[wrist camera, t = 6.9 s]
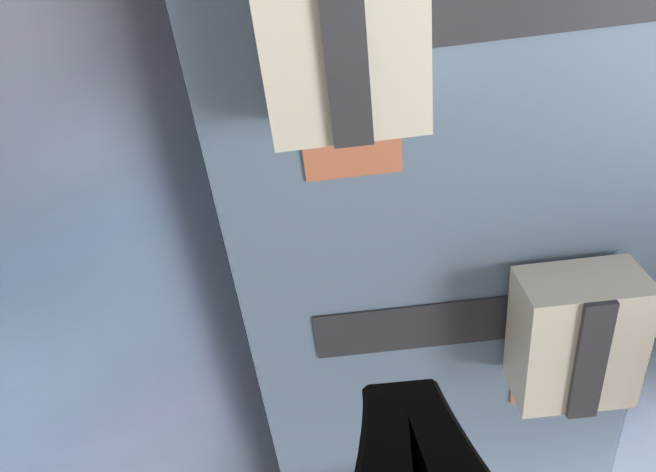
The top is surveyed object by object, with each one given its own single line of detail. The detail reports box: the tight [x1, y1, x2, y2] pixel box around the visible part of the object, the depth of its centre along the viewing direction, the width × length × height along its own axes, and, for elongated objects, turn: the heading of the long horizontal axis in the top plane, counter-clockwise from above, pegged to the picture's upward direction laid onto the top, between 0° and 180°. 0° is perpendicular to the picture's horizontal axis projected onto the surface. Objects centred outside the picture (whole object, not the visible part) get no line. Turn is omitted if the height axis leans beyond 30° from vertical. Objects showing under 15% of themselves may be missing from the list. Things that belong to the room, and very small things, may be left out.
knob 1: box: [249, 0, 433, 153], centre depth 14 cm, size 4×5×2 cm
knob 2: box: [503, 253, 656, 419], centre depth 19 cm, size 4×5×2 cm
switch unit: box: [165, 0, 656, 472], centre depth 22 cm, size 15×30×2 cm, turn 6°
